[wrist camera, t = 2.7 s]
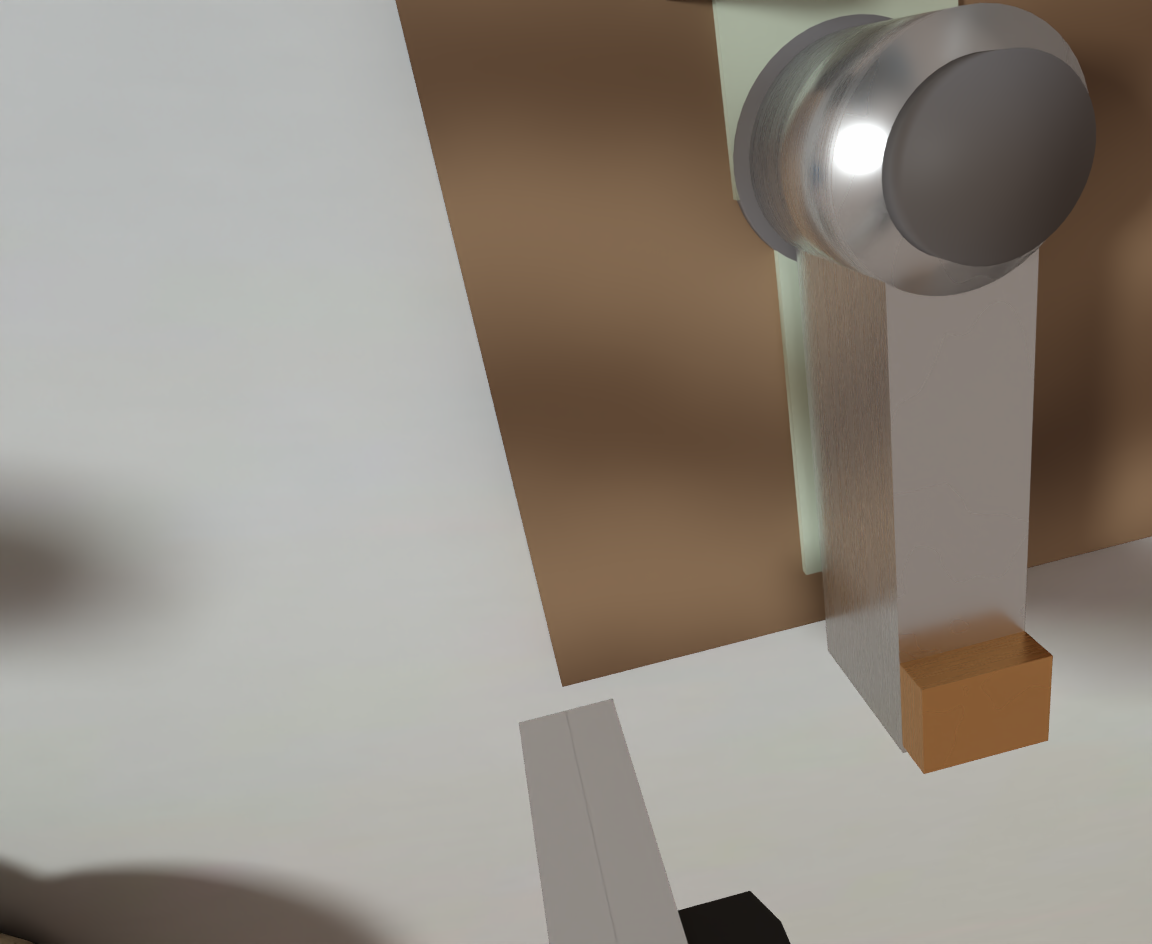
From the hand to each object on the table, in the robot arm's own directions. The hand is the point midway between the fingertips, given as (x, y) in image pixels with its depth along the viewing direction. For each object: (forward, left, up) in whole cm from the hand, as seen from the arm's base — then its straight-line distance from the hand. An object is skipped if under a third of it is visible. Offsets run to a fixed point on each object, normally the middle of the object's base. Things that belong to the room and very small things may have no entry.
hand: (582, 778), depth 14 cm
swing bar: (-3, +7, -5) cm, 10 cm away
